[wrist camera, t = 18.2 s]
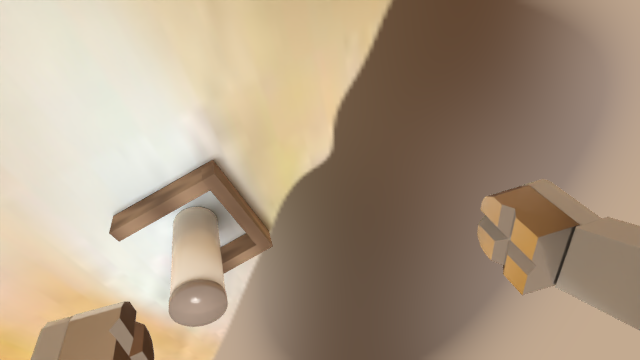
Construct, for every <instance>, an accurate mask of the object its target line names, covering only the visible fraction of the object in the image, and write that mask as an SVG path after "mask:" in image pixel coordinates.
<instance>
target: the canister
mask: <svg viewBox="0 0 640 360" xmlns="http://www.w3.org/2000/svg"><path fill="white" fill-rule="evenodd" d="M227 304H228V303H227V294H226V291H225V285H224V276H223V266H222V257H221V248H220V239H219V229H218V220H217V217H216V215H215V214H214V213H213V212H212V211H210V210H209V209H207V208H204V207H190V208H186V209H184V210H182V211H181V212H179V213H178V214H177V216H176V217H175V219H174V222H173V241H172V267H171V293H170V299H169V314H170V317H171V318H172V319H173V320H174V321H175V322H177V323H178V324H181V325H184V326H191V327H196V326H203V325H207V324H210V323H212V322H214V321H216V320H217V319H219V318H220V317H221V316H222V315H223V314H224V313H225V311H226V309H227Z"/></svg>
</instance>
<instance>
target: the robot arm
mask: <svg viewBox="0 0 640 360" xmlns="http://www.w3.org/2000/svg"><path fill="white" fill-rule="evenodd" d="M481 211H482V212H483V213H484V214H485V216H484V217H483V219H482V220H481V221H480V222H479V224H478V233H477V235H478V238H479V242H480V246H481V247H482V249H483V251H484V253H485V254H486V255H487V256H488V257H489V259H490V260H491V261H494V262H496V263H498V264H501V265H503V274H504V275H505V277H506V278H507V279H508V280H509V281H510V282H511V283H512V284H513V285H514V286H515V288H516V289H517V290H518V291H519V292H520V293H521V294H522V295H525V294H528V293H531V292H534V291H538V290H541V289H544V288H548V287H551V286H554V285H556V288H558V289H560V290H562V291H564V292H566V293H568V294H570V295H572V296H574V297H576V298H578V299H579V300H581V301H584V302H585V303H587V304H589V305H591V306H593V307H595V308H597V309H599V310H601V311H603V312H605V313H607V314H609V315H611V316H612V317H614V318H616V319H618V320H620V321H622V322H624V323H626V324H628V325H630V326H632V327H634V328H636V329H638V330H640V226H637V225H634V224H631V223H627V222H624V221H620V220H617V219H613V218H610V217H606V218H600V217H599V216H598V215H596V214H595V213H593V212H592V211H590V210H589V209H588V208H587V207H585V206H584V205H582V204H581V203H580V202H578V201H577V200H575V199H574V198H573V197H571V196H570V195H569V194H567V193H566V192H564V191H563V190H561V189H560V188H559V187H557V186H556V185H555V184H553V183H552V182H550V181H548V180H545V179H541V180H538V181H535V182H531V183H528V184H524V185H523V186H518V187H515V188H511V189H508V190H505V191H501V192H498V193H495V194H491V195H488V196H485V198H484V199H483V201H482V204H481ZM135 320H136V310H135V309H134V307H133V306H132V305H131V303H130V302H121V303H118V304H114V305H110V306H106V307H103V308H99V309H95V310H91V311H88V312H84V313H80V314H76V315H74V316H71V317H67V318H63V319H59V320H56V321H52V322H48V323H47V324H46V325H45V326H44V327H43V328H42V329H41V331H40V334H39V337H38V340H37V343H36V345H35V348H34V351H33V354H32V357H31V360H154V350H153V343H152V339H151V336H150V334H149V331H148V330H147V328H146V326H145V325H144V324H141V323H138V322H136V321H135Z"/></svg>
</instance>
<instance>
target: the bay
mask: <svg viewBox="0 0 640 360" xmlns="http://www.w3.org/2000/svg"><path fill="white" fill-rule="evenodd" d="M208 191H211V192H212V193H213V194H214V195H215V196H216V198H217V199H218V200H219V201H220V202H221V204H222V205H223V206H224V207H225V208H226V209H227V211H228V212H229V213H230V214H231V215H232V217H233V218H234V219H235V220H236V221H237V223H238V224H239V225H240V226H241V227H242V228H243V230H244V231H245V232H246V234H244V235H243V236H241V237H239V238H237V239H235V240H234V241H232V242H230V243H228V244H226V245H225V246H223V247H221V257H222V266H223V274H224V273H226V272H228V271H229V270H231V269H233V268H235V267H236V266H238V265H240V264H242V263H244V262H245V261H247V260H249V259H251V258H253V257H254V256H256V255H258V254H260V253H262V252H263V251H265V250H267V249H269V248H271V247H272V246H273V245H272V241H271V238H270V234H269V231H268V229H267V228H266V227H265V226H264V224H263V223H262V222H261V221H260V219H259V218H258V217H257V215H256V214H255V213H254V212H253V210H252V209H251V208H250V207H249V205H248V204H247V203H246V202H245V200H244V199H243V198H242V196H241V195H240V194H239V193H238V191H237V190H236V189H235V188H234V186H233V185H232V184H231V182H230V181H229V180H228V179H227V177H226V176H225V175H224V174H223V172H222V171H221V170H220V168H219V167H218V166H217V165H216V163H215V162H214V161H213V160H211V161H210V162H208V163H206V164H204V165H203V166H201V167H199V168H197V169H196V170H194V171H192V172H190V173H189V174H187V175H185V176H183V177H182V178H180V179H178V180H176V181H174V182H173V183H171V184H169V185H167V186H166V187H164V188H162V189H160V190H159V191H157V192H155V193H153V194H152V195H150V196H148V197H146V198H144V199H143V200H141V201H139V202H137V203H136V204H134V205H132V206H130V207H129V208H127V209H125V210H123V211H122V212H120V213H118V214H116V215H115V216H113V219H112V224H111V228H110V232H109V233H110V234H111V235H112V236H113V237H114V238H116V239H117V240H118V241H121V240H123V239H125V238H126V237H128V236H130V235H132V234H133V233H135V232H137V231H139V230H141V229H142V228H144V227H146V226H148V225H149V224H151V223H153V222H155V221H157V220H158V219H160V218H162V217H164V216H165V215H167V214H169V213H171V212H172V211H174V210H176V209H178V208H180V207H181V206H183V205H185V204H187V203H188V202H190V201H192V200H194V199H195V198H197V197H199V196H201V195H203V194H204V193H206V192H208Z"/></svg>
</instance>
